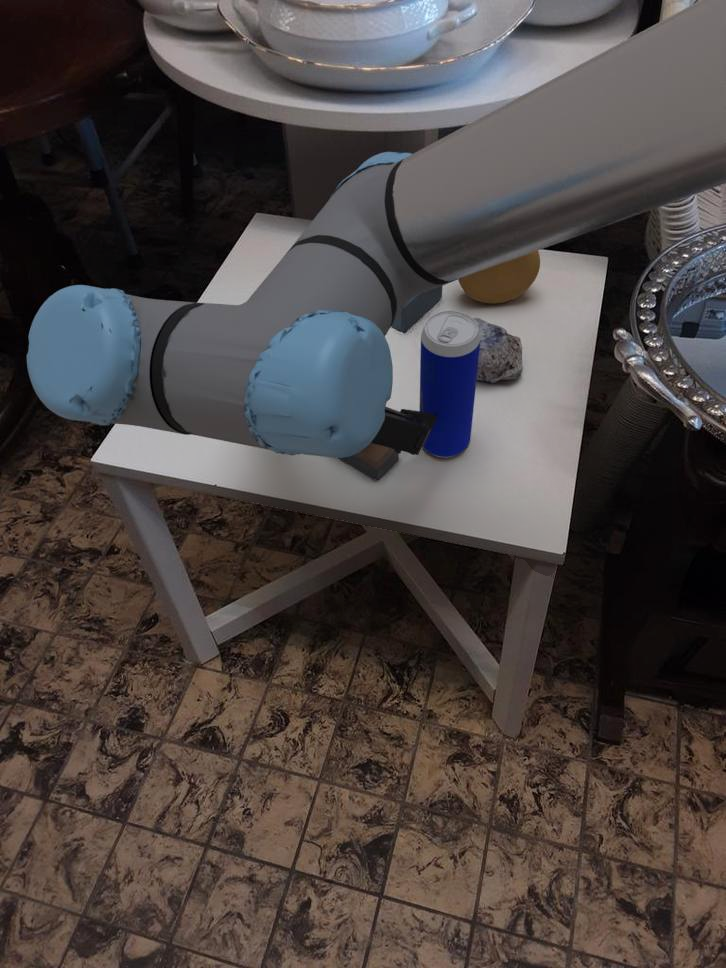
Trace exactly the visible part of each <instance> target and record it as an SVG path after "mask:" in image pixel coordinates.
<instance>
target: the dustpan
mask: <svg viewBox="0 0 726 968" xmlns="http://www.w3.org/2000/svg"><path fill="white" fill-rule="evenodd" d="M442 297H443V286H440V287H437V288H435V289H432V290H429V291H427V292H424V293H421V294H418V295H416V296H415V297H413V298H412V299H410V300H409V301H408V302H407V303H406V305H405V306H404V308H403V309H402V311H401V312H400V314H399V315H398V317H397V318H396V320H395V321H394V323H393V324H392V326H391V327H390V328H393V329H395V330H397V331H399V332H401V333H403V334H406V333H407V332H408V331H409V330H410V329H411V328H412V327H413V326H414V325H416V324H417V322H418V321H419V320H421V318H423V317H424V316H425V315H426V314H427V313H428V312H429V311H430V310H431V309H432V308H433V307H434V306H435V305H437V303H439V301H440V300H441V299H442Z"/></svg>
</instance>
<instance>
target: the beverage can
mask: <svg viewBox="0 0 726 968" xmlns="http://www.w3.org/2000/svg"><path fill="white" fill-rule="evenodd" d="M480 340H481V335H480V331H479V328H478V325H477V323H476V321H475V320H474V319H473V317H472V316H471V315H469V314H467V313H465V312H464V311H463V312H462V311H459V310H442V311H439V312H436V313H434V314H432V315H431V316H429V317H428V318H427V319H426V321H425V322H424V326H423V328H422V330H421V333H420V363H419V365H420V367H419V411H420V412H428V413H432V414H434V415H436V416H438V417H437V419H436V421H435V424H434V426H433V428H432V430H431V432H430V434H429V436H428V438H427V440H426V443H424V445H423V447H422V449H423V450H425V451H426V452H427V453H429V454H430V455H432V456H434V457H437V458H441V459H442V458H444V459H445V458H446V459H447V458H453V457H456V456H458V455H460V454H462V453H463V452H465V451H466V449H467V448H468V447H469V446H470V444H471V443H470V442H471V440H472V439H471V438H472V428H473V419H474V409H475V408H474V407H475V399H476V390H477V389H476V387H477V380H476V379H477V369H478V360H479V350H480Z"/></svg>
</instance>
